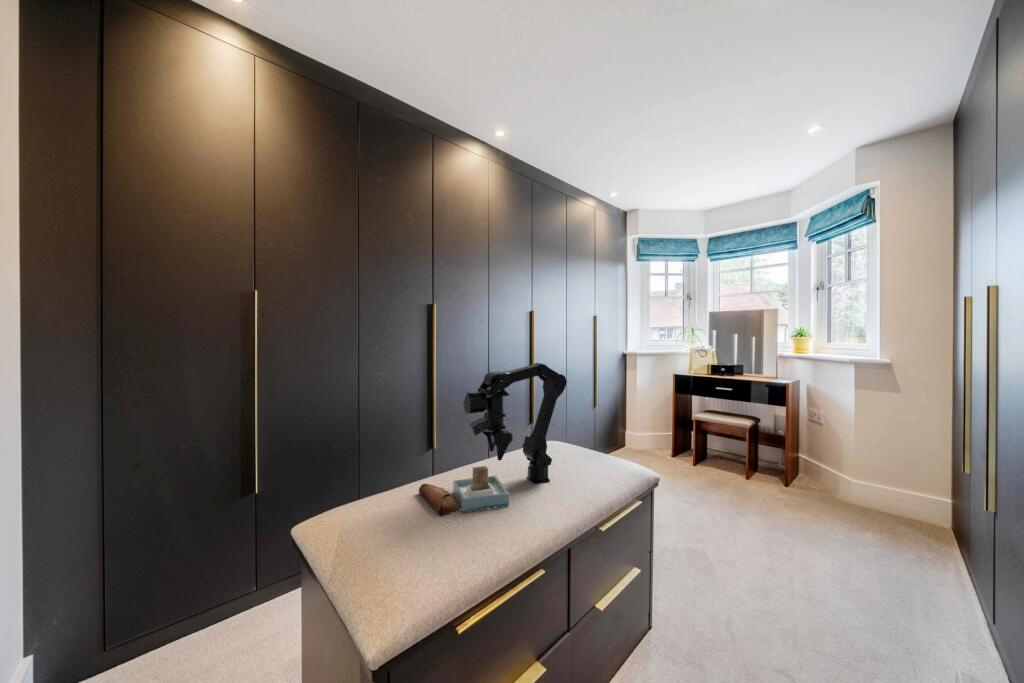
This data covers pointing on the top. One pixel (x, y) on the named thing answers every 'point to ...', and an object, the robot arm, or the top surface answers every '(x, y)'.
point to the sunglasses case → (439, 499)
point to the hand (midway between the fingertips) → (495, 455)
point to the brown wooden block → (480, 478)
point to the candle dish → (480, 495)
